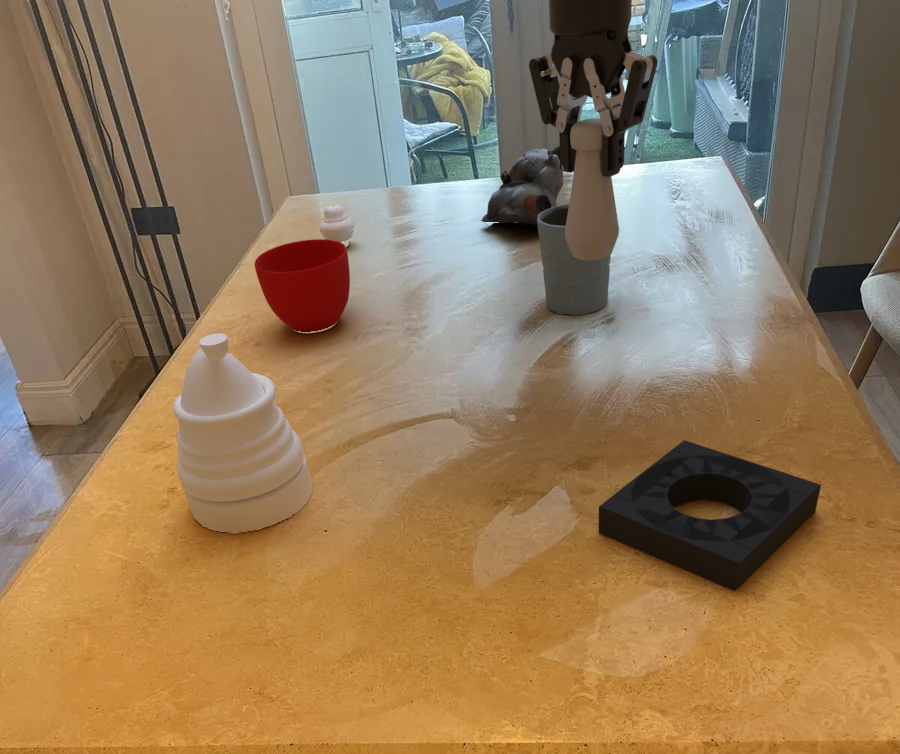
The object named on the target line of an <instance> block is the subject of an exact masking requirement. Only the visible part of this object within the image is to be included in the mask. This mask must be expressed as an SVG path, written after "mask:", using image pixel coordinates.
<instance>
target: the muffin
mask: <svg viewBox="0 0 900 754" xmlns="http://www.w3.org/2000/svg"><path fill="white" fill-rule="evenodd" d="M354 228H355V222H354V220H353V218H352V217H350V216H349V215H348V214H347V212H345V208H344V207H343V206H341V205H339V204H332V205H329V206H327V207H326V208H325V209H324V211H323V217H322V220H321V221H320V222H319V225H318V229H319V232H320V233H321V234H322V237H323V238H324V239H326V240H334V241H338V242H342V241H346V240H348V239H350V238H351V237H352V238H353V235H354ZM352 238H351V239H352Z"/></svg>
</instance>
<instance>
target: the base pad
mask: <svg viewBox="0 0 900 754" xmlns="http://www.w3.org/2000/svg"><path fill="white" fill-rule="evenodd" d="M821 488H822V484H821V483H817V482H815V481H811V480H808V479H805V478H803V477H798V476H796V475H792V474H790V473H787V472H783V471H781V470H778V469H774V468H772V467H768V466H765V465H762V464H759V463H756V462H753V461H750V460H747V459H744V458H741V457H737V456H734V455H731V454H729V453H726V452H722V451H719V450H716V449H714V448H710V447H706V446H704V445H700V444H698V443H694V442H691V441H688V440H686V439H684V440H682V441H681V442H680V443H678V444H677V445H676V446H675V447H673V448H672V449H671V450H669V451H668V452H666V454H664V455H662V456H661V457H660V458H659V459H658V460H657V461H655V462H654V463H653V464H651V465H650V466H649V467H648V468H645V470H643V471H642V472H641V473H640V474H639V475H637V476H636V477H635V478H633V479H632V480H631V481H629V482H628V483H627V484H626V485H624V486H623V487H622V488H621V489H618V491H616V492H614V494H613V495H611V497H608V499H606V500H605V501H604V502H602V503H601V504H599V506H598V533H599V534H601V535H603V536H604V537H605V536H606V537H608V538H610V539H612V540H614V541H617V542H620V543H621V544H624V545H627V546H629V547H631V548H634V549H636V550H638V551H640V552H643V553H645V554H648V555H650V556H652V557H654V558H657V559H660V560H662V561H664V562H666V563H669V564H670V565H673V566H676V567H678V568H681V569H683V570H685V571H687V572H690V573H692V574H695V575H697V576H699V577H701V578H704V579H706V580H709V581H711V582H713V583H715V582H716V584H718V585H720V584H721V585H720V586H723V587H724V588H727V587H728V588H727V589H730V590H732V589H733V590H732V591H734V590H736V589H737V590H738V589H739V588H740V587H741V586H742V585H743V584H744V583H745V582H746V581H747V580H748V579H749V578H750V577H752V575H754V574H755V572H756V571H758V569H759V568H760V567H761V566H762V565H763V564H765V562H766V561H767V560H768V559H769V558H771V556H773V554H774V553H775V552H776V551H778V549H780V548H781V547H782V546H783V545H784V544H785V543H786V542H787V541H788V539H790V537H792V536H793V535H794V534H795V532H797V531H798V529H800V528H801V527H802V526H803V525H804V524H805V523H806V522H807V521H808V520H809V519H810V518H811V517H812V516H813V515H814V514H815V513H816V511H817V507H818V501H819V497H820V492H821ZM704 500H706V501H712V502H720V503H724V504H727V505H728V506H731V507H734V508H735V509H736V510H738V512H740V513H737V514H735V515H732V516H730V517H725V518H722V517H721V518H713V519H709V518H703V517H702V518H701V517H695V516H691V515H689V514H688V513H687V514H686V513H684V512H681V511H679V509H676V507H677V506H679V505H682V504H685V503H688V502H694V501H695V502H696V501H704ZM737 590H736V591H737Z"/></svg>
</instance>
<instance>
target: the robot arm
mask: <svg viewBox="0 0 900 754" xmlns="http://www.w3.org/2000/svg"><path fill="white" fill-rule="evenodd" d="M632 1H633V0H548V14H549V16H548V18H549V30H550V32H551V34H553V35H554V38H553V44H552V47H551V50H550V52H549V53H547V54H542V55H539V56H536V57H535V58H532V59H530V60H529V63H528V69H529V72H530V77H531V80H532V84H533V89H534V93H535V97H536V102H537V105H538V109H539V113H540V118H541V121H542V123H543V124H544V125H546V126H547V125H551V126H553V127H555V130H556V131H557V132H558V133H559V134H558V135H559V146H560V161H561V165H562V169H563V173H574V167H575V160H576V153H577V150H575V149H573V148H572V147H571V141H570V132H571V128H572V126H573V125H574V124H575V123H577V122H579V121H581V117H582V112H583V107H584V105H585V104H586V102H587V100H588V98H590V99H592V102H593V107H594V110H595V111H596V113H598V114H599V118H600V119H601V124H602V128H603V132H604V134H605V136H603V137H602V175H603V176H606V177H611V178H612V177H614V176H616V175H618V174H620V172H621V169H622V168H624V164H625V141H626V139H625V138H626V137H625V136H626V132H627V131H628V130H629V129H631V128H633V127H636V126H638V125H640V124H642V123H643V121H644V118H645V114H646V110H647V106H648V102H649V98H650V94H651V90H652V87H653V83H654V78H655V75H656V72H657V68H658V63H659V61H658V58H657V57H656V55H655V54H650V55H646V56H644V55H641V54H638V53H637V52H634V51H633V48H632V45H631V42H630V39H629V28H630V24H631V20H632V7H633V6H632ZM625 70H626V74H624V71H625ZM623 74H624V79H625V80H626V81H627V83H626V87H625V86H624V82H623ZM558 75H559V77H560V81H559V78H558ZM609 94H610V97H608V96H607V95H609Z"/></svg>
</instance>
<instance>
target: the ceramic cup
mask: <svg viewBox="0 0 900 754" xmlns="http://www.w3.org/2000/svg"><path fill="white" fill-rule="evenodd" d="M254 269H255V273H256V277H257V280H258V282H259V286H260V288H261V291H262V294H263V296H264V299H265V301H266V303H267V305H268V306H269V308H270V309H271V311H272V312H273V313H274V315H275V316H276V317H277V318H278V319H279V320H280V321H281V322H282V323H283V324H284V325H285V326H287V327H288V328H290V329H292V330H293V329H294V330H296V331H301V332H311V331H318V330H322V329H325V328H328V327H330V326H332V325H334V324H335V323H336V322H337V321H339V320H340V318H341V317H342V315H343V313H344V311H345V309H346V308H347V305H348V300H349V297H350V289H351V288H350V287H351V275H350V272H351V271H350V263H349V254H348V249H347V248H346V247H345V245H344V244H342V243H341V242H338V241H334V240H326V239H325V238H324V239H321V238H318V239H315V238H314V239H303V240H298V241H293V242H288V243H283V244H281V245H278V246H275V247H272V248H270V249H268V250H266V251H264V252H262V253H261V254H259V255H258V256H257V257H256V258H255V260H254ZM294 330H293V331H294Z"/></svg>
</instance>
